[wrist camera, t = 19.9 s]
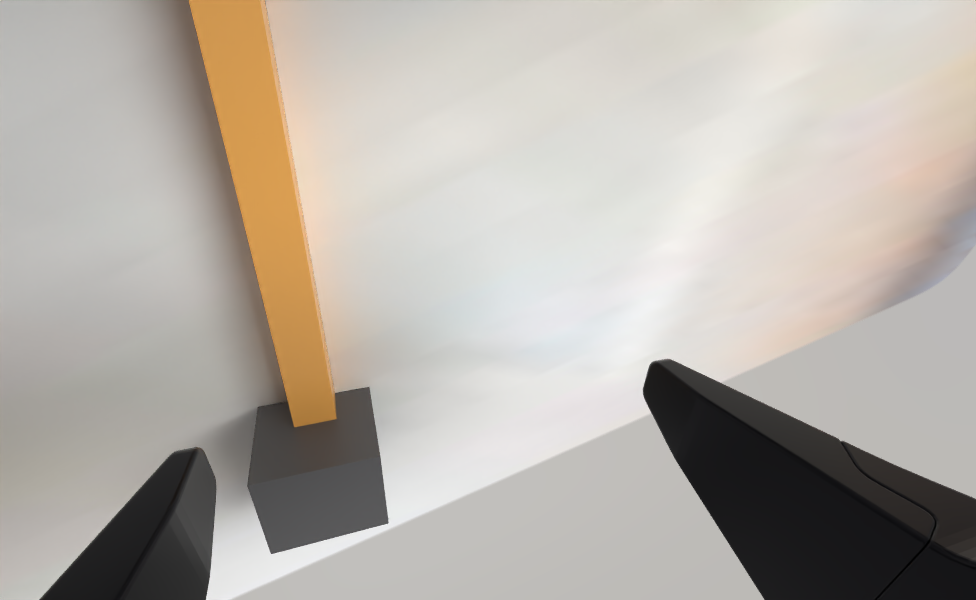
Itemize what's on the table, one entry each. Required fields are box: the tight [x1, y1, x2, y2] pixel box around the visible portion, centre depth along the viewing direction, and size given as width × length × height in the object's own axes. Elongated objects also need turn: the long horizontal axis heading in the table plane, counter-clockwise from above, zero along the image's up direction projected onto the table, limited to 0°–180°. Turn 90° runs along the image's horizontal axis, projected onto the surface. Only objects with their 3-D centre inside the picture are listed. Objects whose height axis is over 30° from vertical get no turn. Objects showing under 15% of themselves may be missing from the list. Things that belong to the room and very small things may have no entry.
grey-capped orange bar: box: [189, 0, 388, 554], centre depth 14 cm, size 24×4×4 cm, turn 178°
